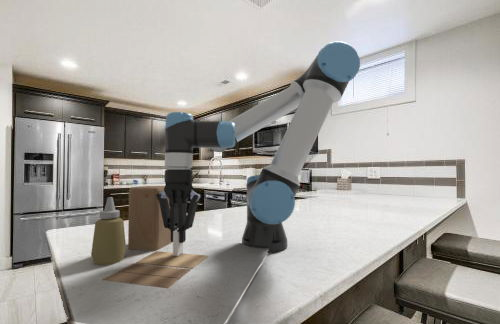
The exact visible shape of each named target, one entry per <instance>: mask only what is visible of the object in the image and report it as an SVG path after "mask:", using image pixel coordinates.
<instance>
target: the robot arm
mask: <svg viewBox="0 0 500 324" xmlns="http://www.w3.org/2000/svg"><path fill="white" fill-rule="evenodd" d="M360 68H361V59H360V56H359V55H358V52H357V50H356V49H355V48H354V47H353V46H352V45H351V44H349V43H347V42H344V41H332V42H328V44H325V45H324V47H323V48H320V50H319V51H318V54H317V55H316V56H315V58H314V59H313V61H312V62H311V64H310V65H309V67H308V68H307V69H306V71H305V72H304V73H303V74H302V75H300V77H298V78H296V79H295V80H293V81H292V82H290V85H289V87H287V88H285V89H283V90H282V91H280V92H278V93H277V94H274V95H273V96H271V97H268V98H267V99H265V100H264V101H261V102H260V103H258V104H256V105H254V106H253V107H251V108H249V109H247V110H245V111H244V112H242V113H240V114H239V115H237V116H235V117H233V118H231V119H230V120H228V121H225V120H220V121H219V120H216V121H215V120H209V121H208V120H206V121H205V120H201V121H200V120H199V121H198V120H194V116H193V114H191V113H189V112H182V111H174V112H170V113H167V115H166V117H165V125H164V127H165V128H164V132H165V133H164V136H165V137H164V140H165V141H164V144H165V146H164V148H165V149H164V150H165V151H164V168H166V169H165V170H164V183H165V185H164V186H165V187H164V191H162V192H161V193H158V194H156V197H157V199H158V201H159V203H160V208H161V213H162V219H163V224H164V227H165V228H168V229H170V231H171V242H172V253H173V256H179V255H180V254H182V253H183V254H184V243H185V242H186V239H187V237H186V235H187V234H186V233H187V230H189V229H191V228H192V227H193V225H194V220H195V217H196V212H197V208H198V202H199V201H200V199H202V194H201V193H197V192H195V191H194V187H193V181H194V180H193V176H194V175H193V174H194V172H193V169H191V168H193V165H194V164H193V163H194V162H193V161H194V160H193V159H194V156H193V155H194V151H193V150H194V148H196V149H199V148H200V149H201V148H202V149H207V148H208V149H210V150H211V151H213V152H216V153H222V152H225V151H226V150H227V149H232V148H235V146H236V143H238V142H240V141H242V140H243V139H245V138H247V137H248V136H251V135H253V133H256V132H257V131H259V130H261V129H263V128H265V127H266V126H268V125H270V124H272V123H274V122H275V121H277V120H279V119H281V118H283V117H284V116H286V115H288V114H289V113H291V112H293V111H295V112H294V114H293V116H292V118H291V120H290V123H289V124H288V127H287V129H286V131H285V133H284V135H283V137H282V139H281V142H280V144H279V146H278V148H277V150H276V151H275V154H274V156H273V158H272V160H271V163H270V164H269V165H266V166H264V167H262V169H261V171H260V173H259V174H257V175H251V176H249V177H247V179H246V185H245V186H246V225H245V227H244V231H243V234H242V237H241V244H243V245H245V246H248V247H251V248H257V249H268V250H267V253H274V252H279V251H284V250H286V249H287V248H288V237H287V235H286V231H285V229H284V228H285V227H284V224H283V222H285V221H286V220H288V219H289V218H290V217H291V215H292V213H294V209H295V205H296V199H295V197H296V195H297V193H298V191H299V189H300V186H301V183H300V180H299V176H300V173H301V171H302V169H303V167H304V165H305V163H306V161H307V159H308V157H309V155H310V152H311V150H312V149H313V146H314V143H315V142H316V139H317V137H318V135H319V133H320V132H321V129H322V127H323V125H324V123H325V121H326V118H327V116H328V114H329V111H330V110H331V108H332V106H333V104H334V103H338V102H339V101H340V100H341V99H342V98H343V95H344V93H345V91H346V89H347V87H348V84H349V83H350V81H352V80H353V79H354V78H355V77H356V75H358V74H359V71H360ZM167 197H168V198H169V204H168V200H167ZM189 198H190V201H189ZM188 201H189V203H188ZM188 204H189V205H188ZM169 206H170V209H169ZM187 207H188V209H187Z"/></svg>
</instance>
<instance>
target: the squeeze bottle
mask: <svg viewBox="0 0 500 324" xmlns="http://www.w3.org/2000/svg"><path fill="white" fill-rule="evenodd" d="M120 214H121V213H120V210H119V209H116V207H115V202H114V198H113V197H112V196H109V197H107V198H106V203H105V206H104V209H103V210H101V211H99V219H98V220H96V222H95V223H94V230H93V238H92V244H91V245H92V246H91V252H90V253H91V254H90V255H91V258H92V261H93V263H94V265H97V266H108V265H115V264H117V263H120V262H121V261H123V260H124V258H125V255H126V251H127V245H126V244H127V243H126V236H125V235H126V233H125V224H124V219H122V218H121V217H120Z"/></svg>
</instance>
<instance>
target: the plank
mask: <svg viewBox="0 0 500 324" xmlns="http://www.w3.org/2000/svg"><path fill="white" fill-rule="evenodd" d="M208 256H209V255H206V254H205V255H203V254H192V253H191V254H190V253H184V252H183V253H182V254H180V255H179V256H173V252H170V251H169V252H168V251H159V250H156V251H153V252H152V253H150V254H149V255H147V256H145V257H143V258H142V259H139V260H138V261H136V262H135V264H142V265H152V266H162V267H172V268H182V269H191V270H193V269H195V267H197V266H199V264H201V263H202V262H203V261H204V260H206V259H207V258H208Z"/></svg>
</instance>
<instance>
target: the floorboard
mask: <svg viewBox="0 0 500 324" xmlns="http://www.w3.org/2000/svg"><path fill="white" fill-rule="evenodd" d="M191 270H192V269H186V268H176V267H167V266H157V265H147V264H137V263H132V264H130V265H129V266H126V267H125V268H123V269H121V270H118V271H117V272H115V273H112V274H110V275H108V276H106V277H105V278H103V279H102V281H106V282H115V283H124V284H132V285H138V286H146V287H157V288H163V289H169V288H171V286H173V285H174V284H176V282H178V281H179V280H180V279H182V278H183V277H184V276H185V275H187V274H188V273H189V272H191Z"/></svg>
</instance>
